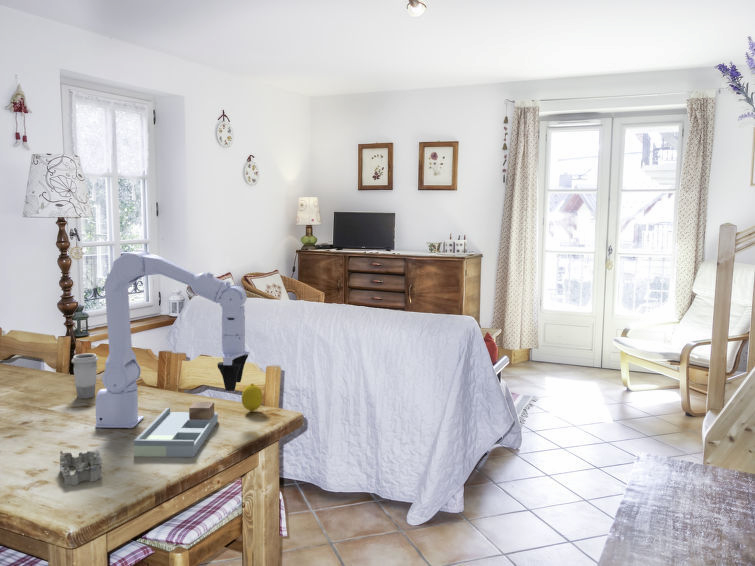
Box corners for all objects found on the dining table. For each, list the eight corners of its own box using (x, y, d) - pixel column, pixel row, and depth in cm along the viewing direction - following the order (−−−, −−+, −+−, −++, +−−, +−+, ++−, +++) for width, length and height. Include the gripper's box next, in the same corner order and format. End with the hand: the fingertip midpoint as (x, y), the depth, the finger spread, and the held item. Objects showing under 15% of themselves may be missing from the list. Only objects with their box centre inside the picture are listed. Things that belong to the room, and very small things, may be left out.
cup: (91, 391, 179) (90, 351, 178) (104, 395, 175) (103, 355, 174) (67, 396, 173) (66, 356, 172) (80, 401, 169) (78, 359, 168)
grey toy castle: (59, 468, 126) (58, 450, 126) (98, 462, 130) (97, 443, 129) (62, 488, 117) (61, 468, 116) (104, 480, 121) (103, 461, 120)
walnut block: (189, 419, 150) (189, 407, 150) (194, 412, 155) (194, 401, 155) (209, 419, 150) (209, 408, 150) (214, 413, 155) (214, 401, 155)
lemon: (257, 416, 161) (257, 387, 160) (238, 414, 162) (238, 385, 161) (265, 409, 166) (265, 381, 165) (246, 408, 167) (246, 380, 166)
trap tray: (134, 456, 133) (133, 440, 132) (167, 420, 155) (166, 407, 155) (193, 456, 133) (193, 441, 133) (217, 421, 156) (217, 408, 155)
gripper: (243, 339, 144) (243, 394, 146) (254, 328, 159) (254, 378, 160) (214, 339, 144) (214, 394, 146) (227, 328, 158) (227, 378, 160)
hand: (233, 386), depth 153 cm, fingers open, 7 cm apart
